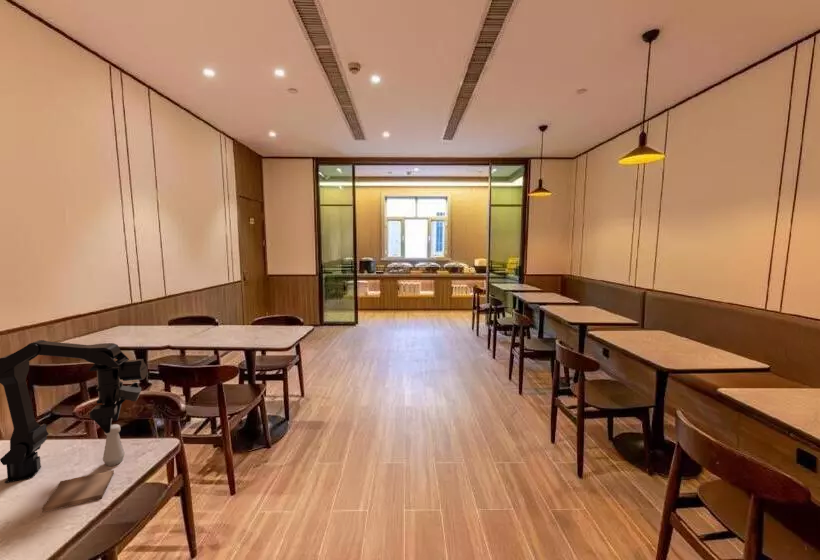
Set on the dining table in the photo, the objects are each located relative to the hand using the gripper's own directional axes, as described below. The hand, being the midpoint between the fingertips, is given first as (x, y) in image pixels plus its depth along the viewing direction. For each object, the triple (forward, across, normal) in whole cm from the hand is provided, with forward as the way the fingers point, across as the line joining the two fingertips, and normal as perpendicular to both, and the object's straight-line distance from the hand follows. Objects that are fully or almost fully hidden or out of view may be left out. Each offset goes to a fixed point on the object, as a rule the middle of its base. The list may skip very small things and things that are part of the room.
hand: (111, 426), depth 123 cm
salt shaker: (+13, 0, 0) cm, 13 cm away
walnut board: (+13, -14, +5) cm, 20 cm away
